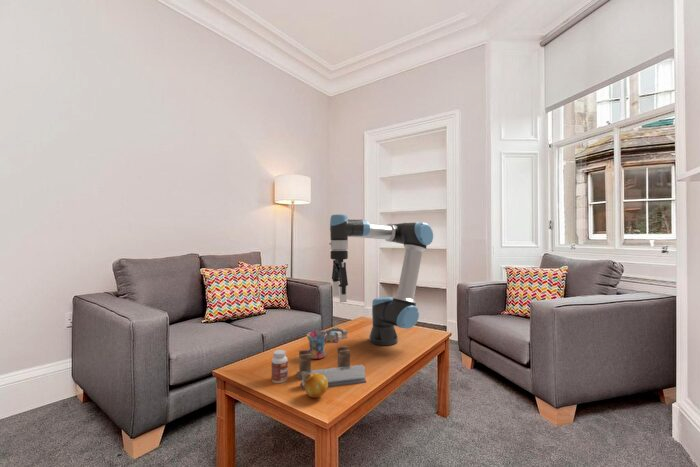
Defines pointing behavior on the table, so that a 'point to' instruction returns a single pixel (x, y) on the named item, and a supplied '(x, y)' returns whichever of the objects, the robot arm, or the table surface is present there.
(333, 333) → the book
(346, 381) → the felt mat
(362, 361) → the table surface
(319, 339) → the mug
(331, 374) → the rail
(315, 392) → the fruit
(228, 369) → the table surface
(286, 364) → the pill bottle
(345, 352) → the stand
